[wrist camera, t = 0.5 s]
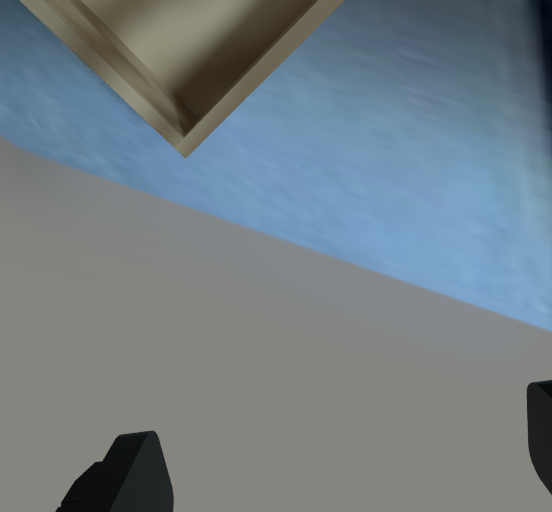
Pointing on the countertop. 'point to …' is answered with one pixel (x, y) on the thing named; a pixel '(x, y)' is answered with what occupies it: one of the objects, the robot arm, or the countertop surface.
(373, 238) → the countertop surface
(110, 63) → the crate
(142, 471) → the robot arm
